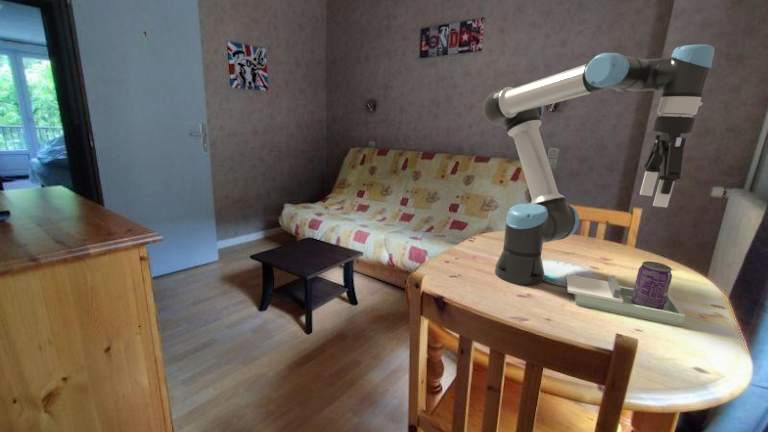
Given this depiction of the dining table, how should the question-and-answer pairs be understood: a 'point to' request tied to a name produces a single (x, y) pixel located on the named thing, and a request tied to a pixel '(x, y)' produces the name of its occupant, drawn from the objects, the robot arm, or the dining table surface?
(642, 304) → the beverage can
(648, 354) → the dining table surface
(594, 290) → the lid
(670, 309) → the serving tray
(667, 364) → the dining table surface
